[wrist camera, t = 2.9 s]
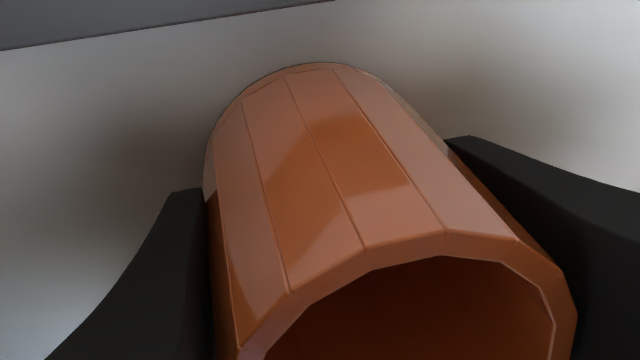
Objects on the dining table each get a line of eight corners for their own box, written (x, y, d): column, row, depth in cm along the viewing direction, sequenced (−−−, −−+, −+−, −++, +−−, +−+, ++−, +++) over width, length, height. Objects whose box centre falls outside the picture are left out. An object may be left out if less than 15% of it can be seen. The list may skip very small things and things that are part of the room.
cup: (417, 231, 15) (554, 446, 10) (225, 272, 14) (256, 529, 9) (416, 44, 12) (604, 195, 7) (181, 83, 12) (185, 286, 6)
